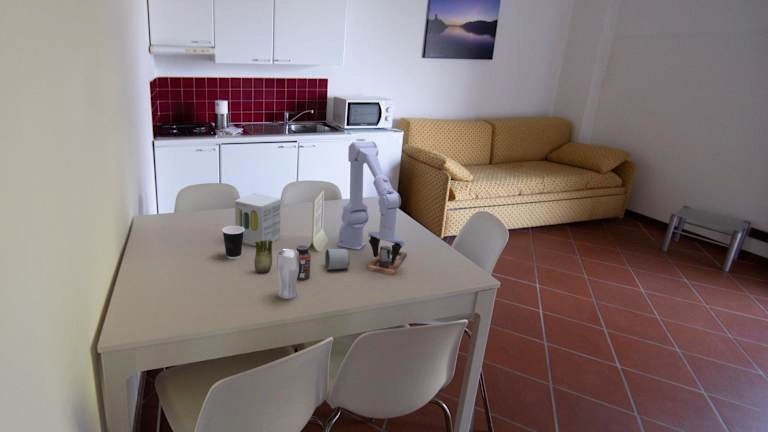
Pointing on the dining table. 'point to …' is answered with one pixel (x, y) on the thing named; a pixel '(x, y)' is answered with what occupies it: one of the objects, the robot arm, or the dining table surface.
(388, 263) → the metal peg
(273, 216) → the supplement box
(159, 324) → the dining table surface
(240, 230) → the dixie cup
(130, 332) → the dining table surface
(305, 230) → the dining table surface
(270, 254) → the fennel bulb
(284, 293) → the silver beverage can
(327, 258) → the ceramic mug
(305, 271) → the supplement bottle
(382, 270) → the rail
